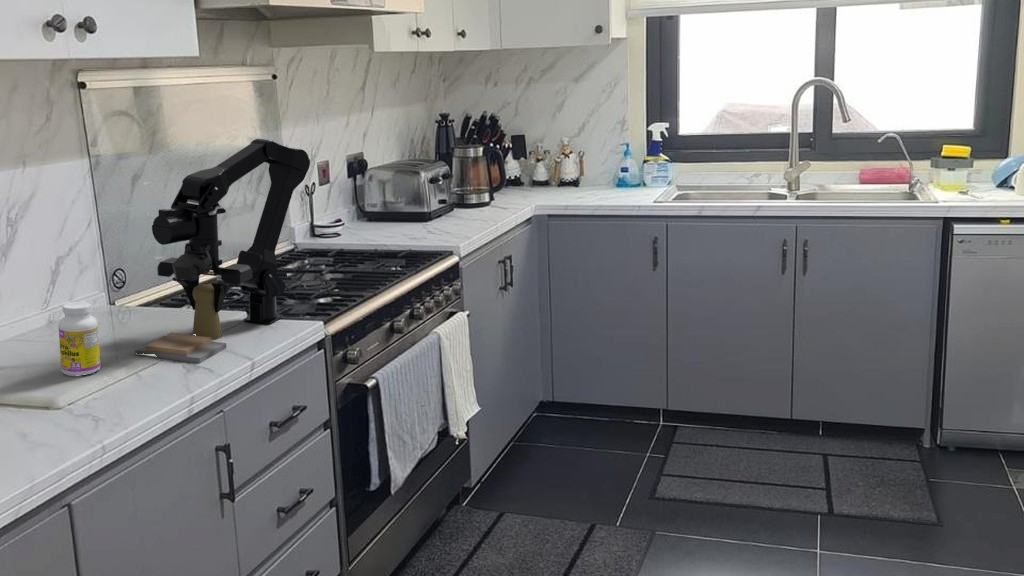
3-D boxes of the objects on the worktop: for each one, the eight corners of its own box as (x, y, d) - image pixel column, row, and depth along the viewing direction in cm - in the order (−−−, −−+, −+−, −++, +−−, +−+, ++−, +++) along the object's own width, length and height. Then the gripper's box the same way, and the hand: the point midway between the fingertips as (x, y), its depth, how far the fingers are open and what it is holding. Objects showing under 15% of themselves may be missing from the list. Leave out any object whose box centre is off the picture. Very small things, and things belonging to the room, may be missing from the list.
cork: (195, 341, 201) (192, 290, 198) (189, 333, 206) (187, 282, 203) (225, 338, 204) (223, 287, 201) (219, 330, 209) (217, 280, 206)
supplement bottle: (53, 373, 180) (48, 305, 177) (84, 363, 186) (79, 297, 183) (78, 380, 177) (73, 311, 174) (108, 369, 183) (104, 303, 180)
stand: (164, 340, 201) (164, 330, 201) (226, 347, 198) (226, 338, 198) (135, 354, 192) (134, 345, 191) (199, 363, 189) (199, 353, 188)
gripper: (139, 240, 194) (143, 316, 198) (224, 249, 190) (227, 326, 194) (171, 230, 205) (174, 302, 208) (252, 238, 200) (254, 311, 204)
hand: (206, 310), depth 204 cm, fingers closed on cork, 5 cm apart
